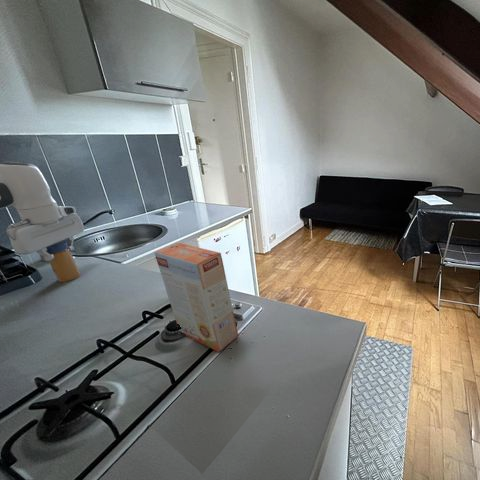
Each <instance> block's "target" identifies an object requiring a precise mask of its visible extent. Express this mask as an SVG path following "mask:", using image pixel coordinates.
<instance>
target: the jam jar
mask: <svg viewBox="0 0 480 480" xmlns="http://www.w3.org/2000/svg"><path fill="white" fill-rule="evenodd" d="M49 254H53V255H54V257H55V259H53V260H51V261H48V263H49V265H50V267H51V269H52V272H53V273H54V275H55V277H56V279H57V281H58V282H60V283H65V282H70V281H72V280H75V279H78V278H79V277H81V272H80V269H79V266H78V264H77V263H76V260H75V258H74V256H73V254H72V251H70V249H69V248H67V249H65V250H63V251H59V252H55V253H49Z"/></svg>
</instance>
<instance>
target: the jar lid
mask: <svg viewBox="0 0 480 480" xmlns="http://www.w3.org/2000/svg"><path fill="white" fill-rule="evenodd" d="M67 248H69V246H68V243H67V241H64V240H62V241H60V242H57V243H55V244H53V245H50V246H48V247H46V249H47V251H46V252H47V253H55V252H59V251H63V250H65V249H67Z"/></svg>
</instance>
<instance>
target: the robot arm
mask: <svg viewBox="0 0 480 480" xmlns="http://www.w3.org/2000/svg"><path fill="white" fill-rule="evenodd" d="M9 207H14V208H15V209H17V210H16V211H17V213H18V215H19V218H20V219H21V220H20V221H17V222H13V223H10V224H9V226H7V228H6V234H7V235H8V238H9V241H10V244H11V247H12V249H13V252H14V253H16V254H18V255H31V254H33V253H37V254H38V255H39V254H40V255H42V256H43V257H44V259H45V260H46V261H45V262H49V261H51V260H53V259H55V257H54V255H53V254H49V253H47V252H46V251H47V249H46V247H48V246H50V245H53V244H55V243H57V242H60V241H67V243H68V246H69V249H70V252H72V251H74V250H75V246H74V242H75V238H74V237H75V236H77V235H79V234H82V233H83V232H84V231H85V226H84V224H83V220H82V219H81V217H80V216H79V215H78V213H77V209H76V207H75V206H65V205H58V203H57V201H56V199H54V197H53V196H52V191H51V187H50V185H49V183H48V182H47V179H46V178H45V176H44V174H43V173H42V171H41V170H40V168H39V167H38V166H37V165H35V164H33V163H31V162H27V161H14V160H13V161H1V162H0V210H2V209H6V208H9ZM40 255H39V256H40Z"/></svg>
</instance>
